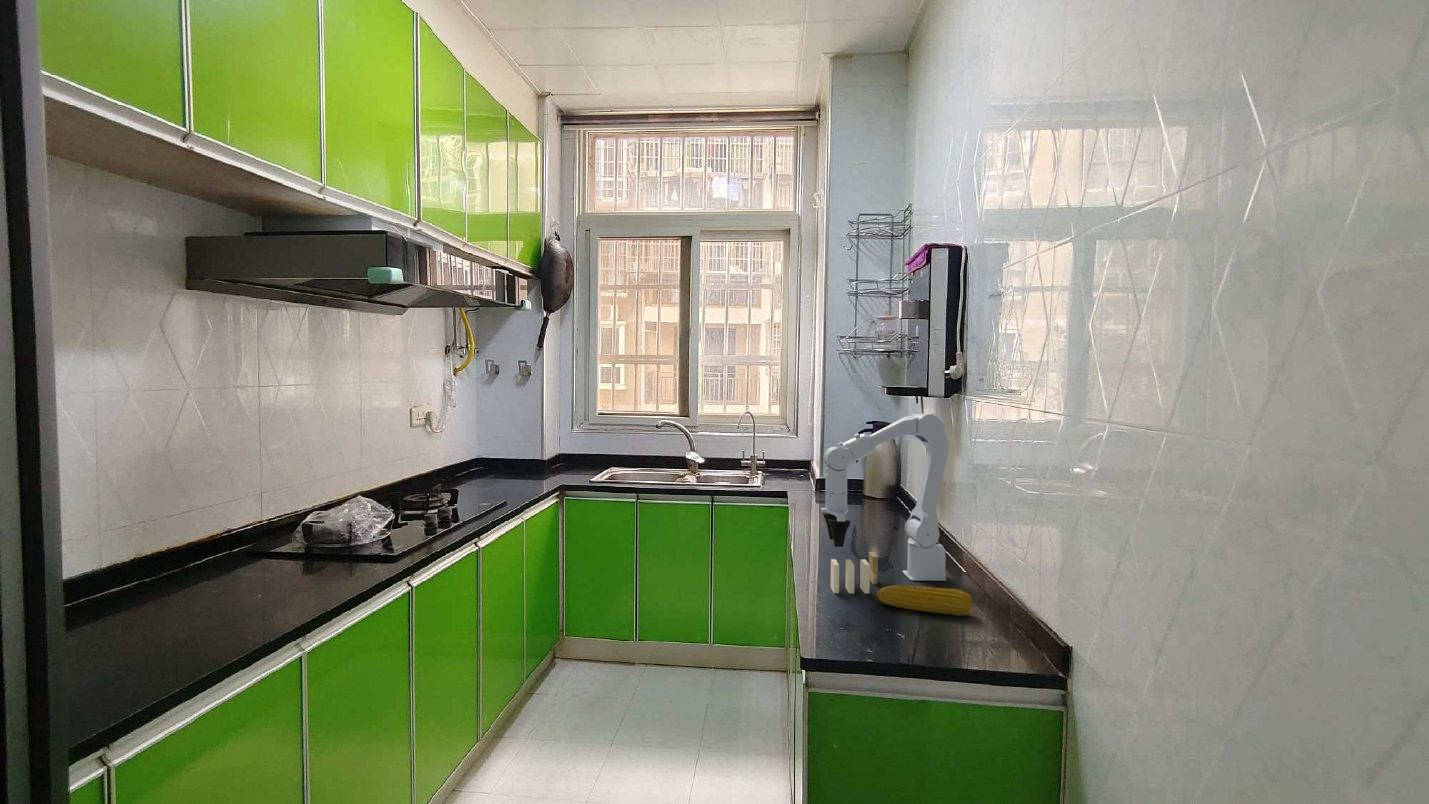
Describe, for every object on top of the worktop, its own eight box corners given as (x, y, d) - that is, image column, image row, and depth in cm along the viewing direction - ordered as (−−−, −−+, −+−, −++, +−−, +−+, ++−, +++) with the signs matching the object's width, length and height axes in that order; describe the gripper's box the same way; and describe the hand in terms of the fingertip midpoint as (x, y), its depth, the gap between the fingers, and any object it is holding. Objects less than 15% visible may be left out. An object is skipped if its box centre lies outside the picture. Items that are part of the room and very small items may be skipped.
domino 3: (864, 587, 171) (865, 559, 171) (869, 593, 166) (869, 564, 166) (860, 587, 171) (860, 559, 171) (864, 593, 166) (864, 564, 166)
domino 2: (850, 587, 171) (850, 559, 171) (854, 593, 166) (854, 564, 166) (845, 587, 171) (845, 559, 171) (849, 593, 166) (849, 564, 166)
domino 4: (872, 578, 178) (873, 551, 178) (877, 584, 173) (877, 556, 173) (868, 578, 178) (868, 551, 178) (872, 584, 173) (873, 556, 173)
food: (971, 613, 152) (972, 587, 152) (970, 621, 147) (971, 595, 147) (878, 601, 161) (878, 576, 161) (874, 608, 156) (874, 583, 155)
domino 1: (835, 587, 171) (835, 559, 171) (838, 593, 166) (839, 564, 166) (830, 587, 171) (830, 559, 171) (834, 593, 166) (834, 564, 166)
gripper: (817, 487, 185) (817, 536, 185) (825, 497, 170) (825, 549, 171) (842, 487, 185) (842, 536, 185) (853, 497, 170) (853, 549, 171)
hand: (836, 542), depth 178 cm, fingers open, 7 cm apart
